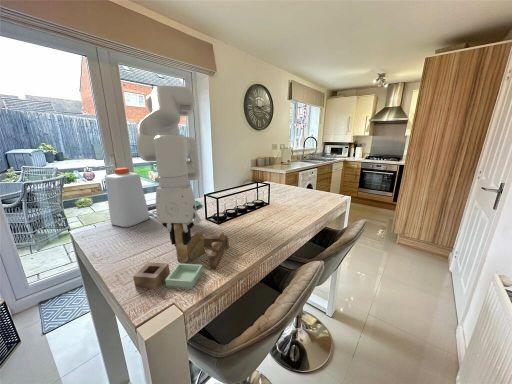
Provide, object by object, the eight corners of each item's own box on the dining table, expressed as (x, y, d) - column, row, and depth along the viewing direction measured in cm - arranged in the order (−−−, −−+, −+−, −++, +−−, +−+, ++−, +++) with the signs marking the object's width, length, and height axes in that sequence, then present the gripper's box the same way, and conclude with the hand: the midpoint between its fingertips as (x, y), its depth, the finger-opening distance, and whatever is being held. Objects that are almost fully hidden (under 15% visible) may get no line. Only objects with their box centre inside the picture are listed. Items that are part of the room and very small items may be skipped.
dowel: (175, 262, 62) (171, 224, 59) (180, 257, 65) (176, 220, 62) (185, 262, 62) (181, 224, 59) (189, 257, 65) (186, 220, 62)
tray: (166, 286, 62) (165, 279, 62) (179, 269, 70) (178, 263, 70) (192, 289, 61) (191, 281, 61) (203, 271, 69) (202, 264, 69)
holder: (135, 287, 62) (133, 276, 61) (149, 272, 69) (148, 262, 68) (157, 289, 61) (155, 277, 60) (170, 274, 68) (168, 263, 67)
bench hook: (155, 265, 73) (152, 246, 71) (177, 243, 88) (175, 226, 86) (217, 269, 70) (215, 249, 68) (228, 246, 85) (228, 229, 83)
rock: (181, 266, 68) (210, 253, 73) (173, 241, 70) (202, 230, 75) (181, 268, 78) (206, 257, 82) (173, 247, 80) (199, 237, 84)
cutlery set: (206, 207, 132) (206, 203, 131) (158, 222, 111) (157, 218, 110) (189, 201, 145) (189, 197, 145) (144, 213, 124) (143, 210, 123)
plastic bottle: (126, 229, 102) (115, 171, 94) (107, 224, 108) (95, 169, 100) (153, 218, 115) (145, 167, 107) (134, 214, 121) (126, 165, 114)
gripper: (137, 184, 55) (147, 247, 60) (197, 185, 53) (203, 250, 58) (154, 178, 62) (162, 235, 67) (207, 179, 60) (212, 237, 65)
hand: (181, 242), depth 62 cm, fingers closed on dowel, 3 cm apart
